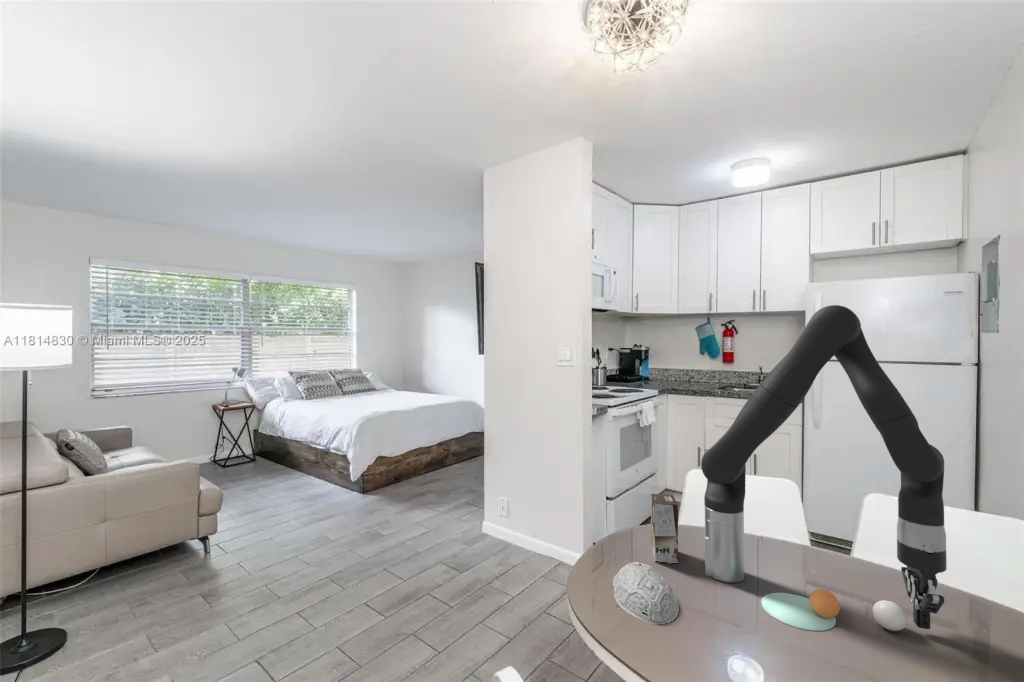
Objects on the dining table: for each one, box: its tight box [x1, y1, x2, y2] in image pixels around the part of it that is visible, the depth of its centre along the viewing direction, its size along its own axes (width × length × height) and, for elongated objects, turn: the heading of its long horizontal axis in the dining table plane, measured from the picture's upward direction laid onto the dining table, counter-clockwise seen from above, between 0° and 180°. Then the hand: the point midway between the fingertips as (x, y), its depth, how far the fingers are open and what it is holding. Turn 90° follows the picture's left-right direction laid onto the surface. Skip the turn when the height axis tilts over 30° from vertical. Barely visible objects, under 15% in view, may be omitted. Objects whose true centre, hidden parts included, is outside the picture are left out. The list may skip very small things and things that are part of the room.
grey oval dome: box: [612, 561, 680, 625], centre depth 108 cm, size 16×25×7 cm, turn 176°
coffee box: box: [650, 493, 679, 564], centre depth 128 cm, size 9×6×16 cm
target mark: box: [760, 592, 837, 632], centre depth 101 cm, size 14×14×1 cm
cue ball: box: [872, 600, 908, 632], centre depth 95 cm, size 6×6×6 cm
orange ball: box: [808, 588, 841, 618], centre depth 99 cm, size 6×6×6 cm
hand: (921, 626), depth 93 cm, fingers closed
